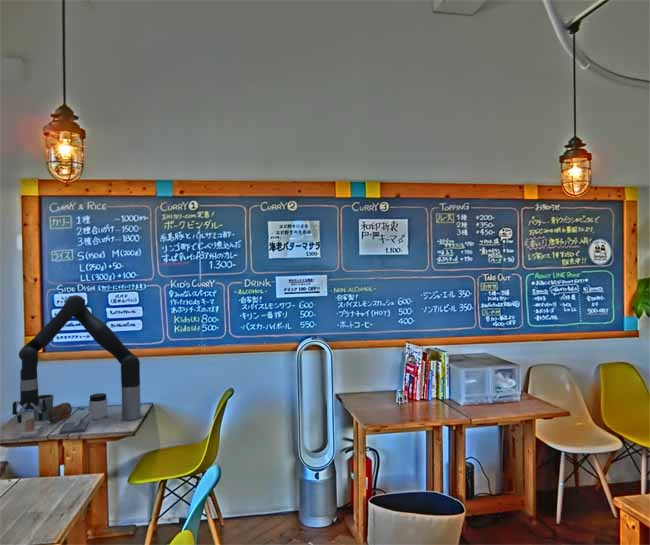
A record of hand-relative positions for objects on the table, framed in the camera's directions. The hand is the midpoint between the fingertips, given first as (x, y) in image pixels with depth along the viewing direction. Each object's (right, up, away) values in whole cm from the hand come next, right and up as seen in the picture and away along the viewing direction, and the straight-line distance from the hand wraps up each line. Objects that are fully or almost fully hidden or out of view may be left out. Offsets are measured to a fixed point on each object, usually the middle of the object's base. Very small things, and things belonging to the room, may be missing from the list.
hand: (30, 421), depth 237 cm
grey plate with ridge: (+18, -6, +6) cm, 20 cm away
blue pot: (-8, -6, +25) cm, 27 cm away
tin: (+2, -6, +22) cm, 23 cm away
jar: (+21, -6, +26) cm, 34 cm away
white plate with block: (+1, -6, 0) cm, 6 cm away
